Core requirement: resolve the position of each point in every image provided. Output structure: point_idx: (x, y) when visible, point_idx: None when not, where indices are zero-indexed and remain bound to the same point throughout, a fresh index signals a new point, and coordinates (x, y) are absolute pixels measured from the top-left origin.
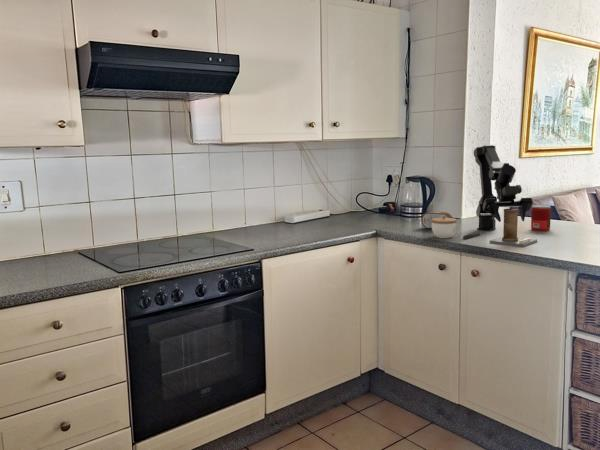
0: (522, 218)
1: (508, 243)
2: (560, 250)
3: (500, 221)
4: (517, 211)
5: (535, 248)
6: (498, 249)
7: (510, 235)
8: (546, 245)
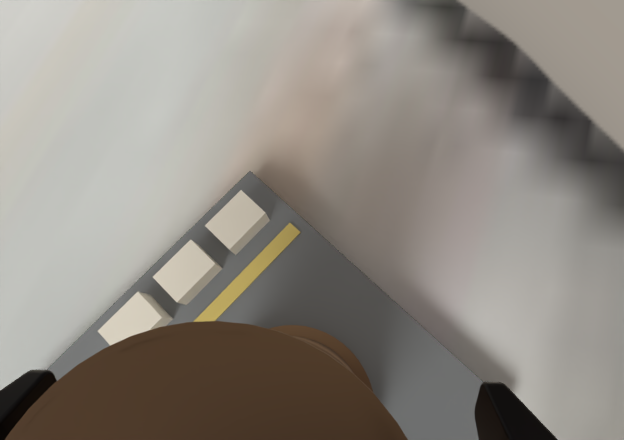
0: None
1: (355, 268)
2: (53, 36)
3: (478, 396)
4: (72, 385)
5: (188, 118)
6: (488, 109)
7: (310, 339)
8: (43, 224)
